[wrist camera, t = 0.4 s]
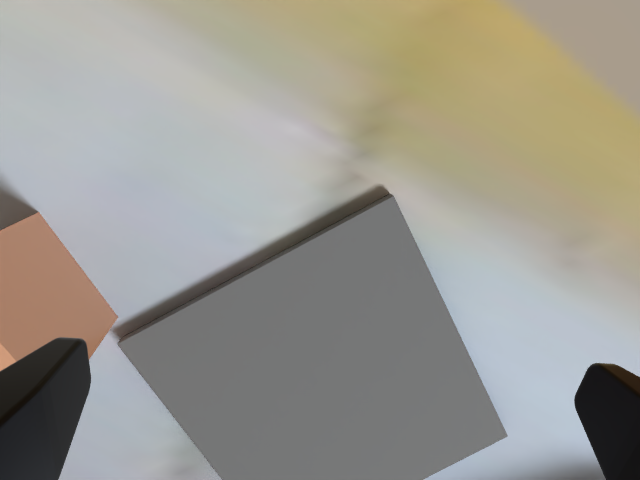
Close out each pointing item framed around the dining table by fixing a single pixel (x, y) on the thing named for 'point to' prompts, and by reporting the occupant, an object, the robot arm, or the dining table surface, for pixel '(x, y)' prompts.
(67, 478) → the dining table surface
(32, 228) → the tile
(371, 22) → the dining table surface
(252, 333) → the mat
